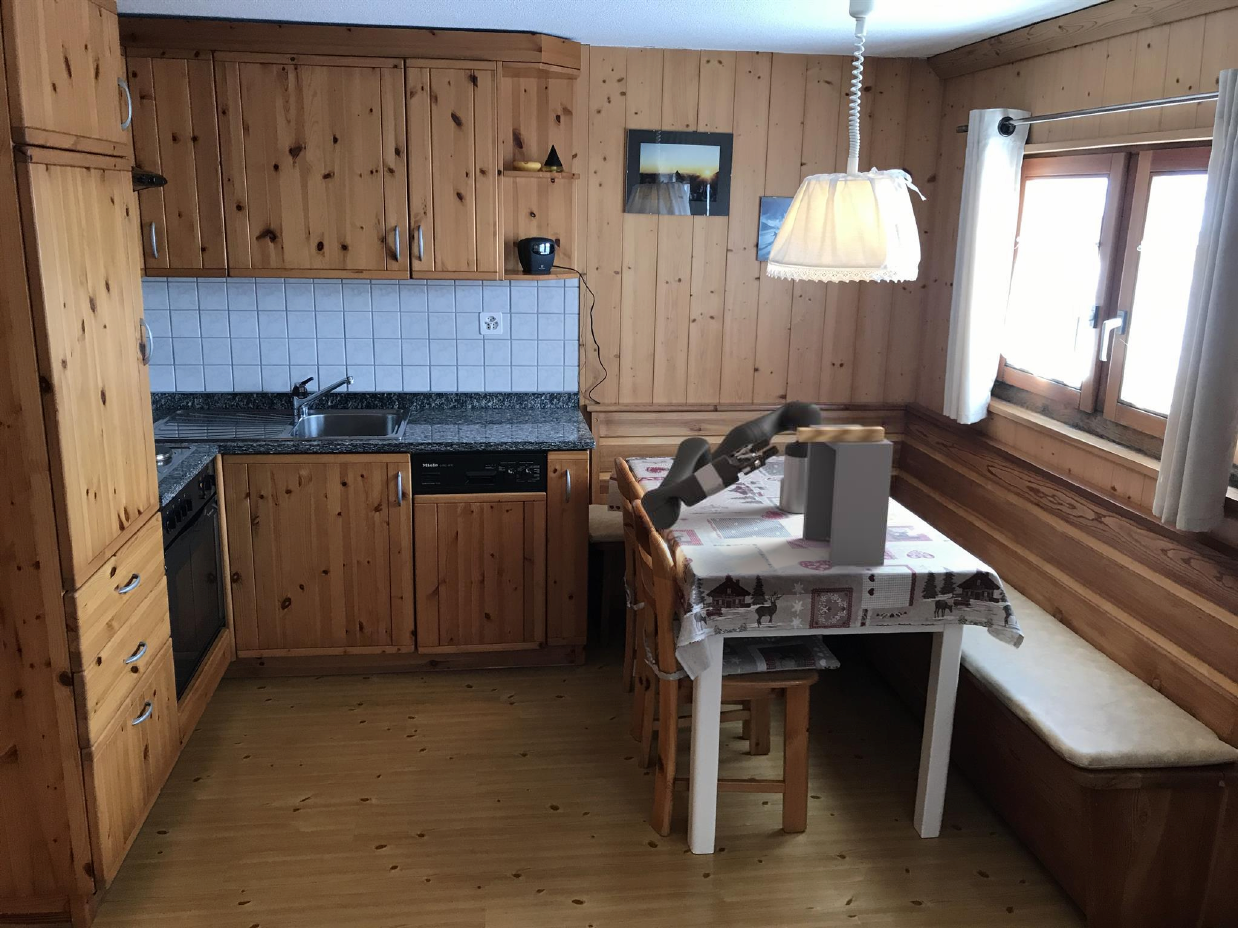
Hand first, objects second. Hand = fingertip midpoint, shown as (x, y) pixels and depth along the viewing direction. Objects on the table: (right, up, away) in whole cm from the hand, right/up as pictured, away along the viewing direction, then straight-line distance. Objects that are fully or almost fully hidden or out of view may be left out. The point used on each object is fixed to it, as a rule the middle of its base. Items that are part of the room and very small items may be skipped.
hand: (772, 444), depth 253 cm
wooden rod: (+17, +1, +3) cm, 18 cm away
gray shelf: (+21, -28, +18) cm, 39 cm away
